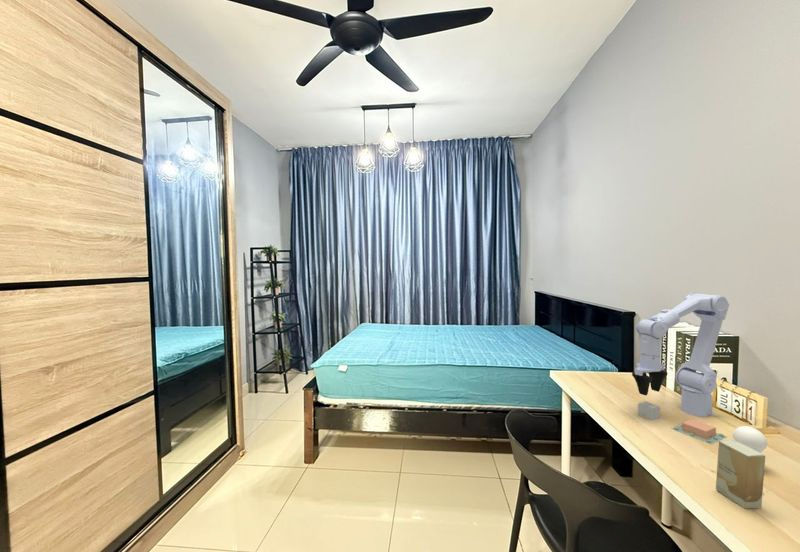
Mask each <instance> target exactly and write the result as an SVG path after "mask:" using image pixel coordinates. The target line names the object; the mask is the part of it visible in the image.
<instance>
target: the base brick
mask: <svg viewBox="0 0 800 552" xmlns="http://www.w3.org/2000/svg"><path fill="white" fill-rule="evenodd" d="M681 425H682V430H683V431H685V432H688V433H693V434H694V435H696V436H698V437H701V438H704V439H708V438H711V437H713V436H715V435H716V433H717V427H716V426H713V425H711V424H708V423H705V422H702V421H698V420H696V419H693V418H691V419H688V420H685V421H682V422H681Z"/></svg>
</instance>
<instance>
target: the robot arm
mask: <svg viewBox="0 0 800 552" xmlns="http://www.w3.org/2000/svg"><path fill="white" fill-rule="evenodd" d="M729 307H730V303H729V301H728V299H727V298H726V297H725V296H724V295H722V294H706V293H696V292H691V293H690V294H689V293H688V295H686V296H685V297H684V300H683V301H682V302H680V303H679V304H677V305H676V306H674V307H673V308H672V309H668V308H667V309H665V308H664V309H662V310H660V312H659V313H657V314H655V315H652V316H651V317H650V318H648V319H647V318H646V319H641V320H639V321H638V323H637V324H636V327H635V330H636V333H637V334H638V340H639V344H640V345H639V363H638V362H637V363H636V364H635V366H636V368H634V371H632V372H631V376H632V377H633V378H634V381H635V383H636V386H637V390H638V393H639V395H643V396H648V394H649V389H651V390H652V391H654V392H657V393H658V392H660V390H661V387H662V384H663V382H664V380H665V378H666V377H667V376H668V373H669V372H667V371H665V364H662V363H661V361H662V360H661V359H662V358H661V357H662V354H661V353H662V338H664V337H665V335H666V334H667V332H668V331H669V329H671V328H672V327H675V326H676V325H678V324H679V323H680V321H681V318H683V317H685V316H687V315H690V314H691V313H693V314H694V315H695V316H696V317H697V318H699V319H700V320H701V321H700V325H699V329H698V332H697V335H696V338H695V341H694V345H693V349H692V352H691V355H690V358H689V361H686V362H683V363H680V367H679V368H678V370H676V373H675V381H676V382H677V384H678V385H679V387H680V388H681V395H680V396H681V398H680V399H681V400H680V401H681V403H680V409H681V411H682V412H683V413H686V414H688V415H690V416H691V415H692V416H695V417H701V418H706V417H708V416H709V415H710V416H713V417H716V416H717V415H716V413H713V402H714V399H713V395H712V393H713V392H714V391H715V390H716V388H717V377H718V375H717V373H716V372H715V371H714V370H713V369H712V368H711V367H710V366H711V362H712V359H713V356H714V352H715V349H716V345H717V342H718V338H719V335H720V331H721V328H722V325H723V322H724V320H726V317H727V314H728V311H729Z"/></svg>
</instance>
